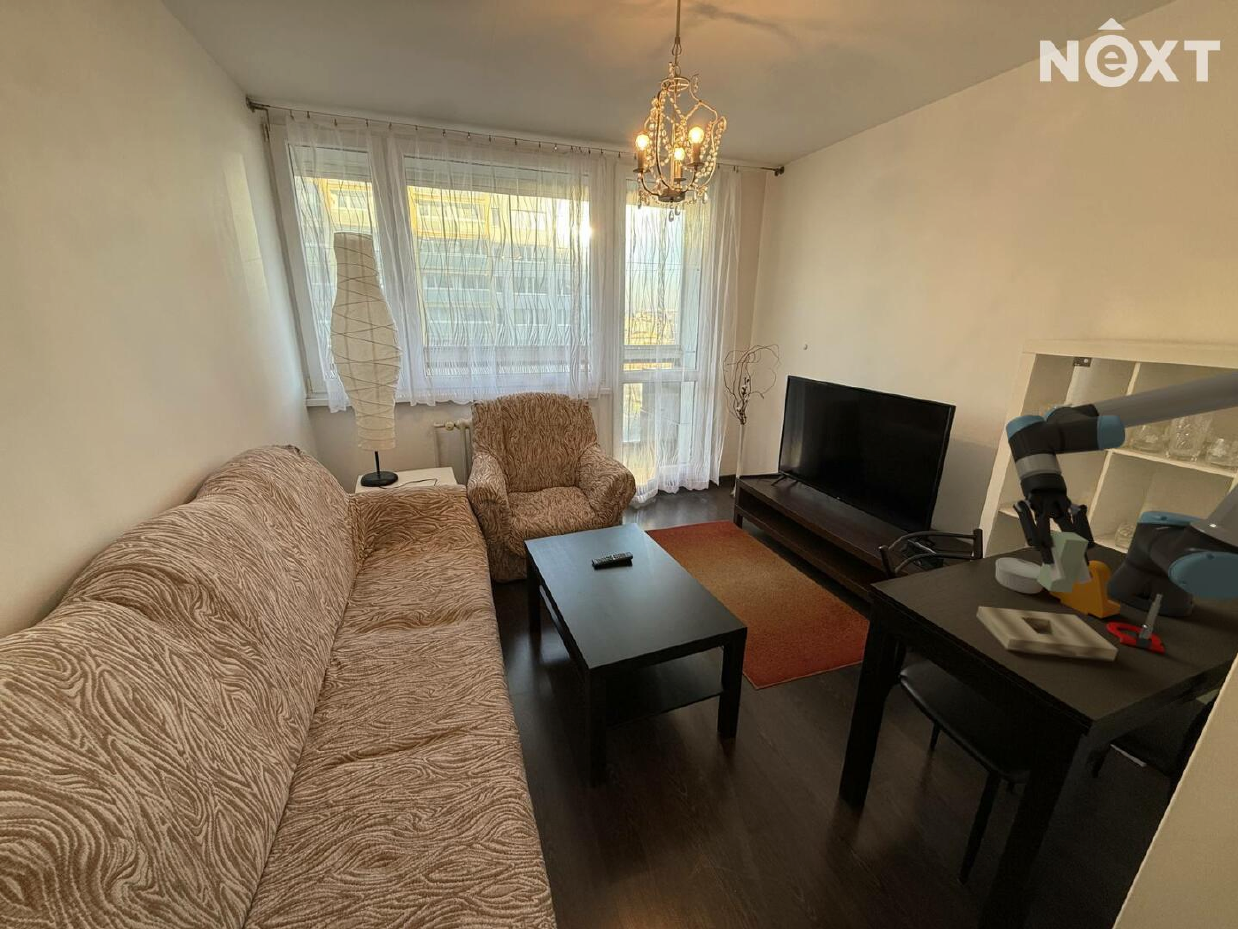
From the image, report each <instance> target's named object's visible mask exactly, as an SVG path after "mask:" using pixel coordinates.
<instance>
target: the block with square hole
mask: <svg viewBox="0 0 1238 929" xmlns="http://www.w3.org/2000/svg"><path fill="white" fill-rule="evenodd" d="M975 618H976V619H977V620H978V622H980V624H981V625H983V627H984V628H985V629H986V630H987V631H988V632H989V634H991V636H993V638H994V639H995V640H996V641H997V642H998V643H999V644H1000V645H1001V647H1002V648H1003V649H1004V650H1005V651H1006V652H1018V653H1025V654H1033V655H1035V654H1036V655H1043V656H1044V655H1045V656H1054V657H1055V656H1056V657H1063V658H1064V657H1065V658H1072V659H1073V658H1075V659H1082V660H1092V661H1103V662H1112V663H1113V662H1114V661H1115V659H1116V656H1117V653H1118V652H1119V649H1118V648H1117V647H1115V646H1114V645H1113V644H1112V643H1111V642H1110V641H1108V640H1107V639H1106V638H1104V637H1103V636H1101V635H1100V634H1099V633H1098V632H1097V631H1095V630H1094V629H1093V628H1092V627H1091V626H1090V625H1088V624H1087V623H1086V622H1084V621H1083V620H1082V619H1081V618H1080V617H1078V616H1077V615H1076V614H1067V613H1056V612H1045V611H1035V610H1034V611H1033V610H1025V609H1024V610H1022V609H1012V608H1003V607H992V606H991V607H990V606H981V605H979V606H978V608H977V612H976V616H975Z"/></svg>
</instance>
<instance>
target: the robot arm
mask: <svg viewBox="0 0 1238 929" xmlns="http://www.w3.org/2000/svg"><path fill="white" fill-rule="evenodd" d="M1237 407H1238V370H1237V371H1236V370H1235V371H1232V372H1227V373H1223V374H1219V375H1214V376H1209V377H1204V378H1200V379H1196V380H1191V381H1185V382H1181V383H1178V384H1173V385H1168V386H1164V387H1160V388H1154V389H1150V390H1147V391H1146V390H1145V391H1141V392H1137V393H1132V394H1127V395H1123V396H1118V397H1114V398H1113V397H1112V398H1110V399H1105V400H1101V401H1095V402H1092V403H1086V404H1082V405H1077V406H1073V407H1072V406H1065V405H1063V406H1062V405H1061V406H1056V407H1053V408H1051V409H1049V410H1048V411H1047V412H1046V413H1045V414H1044V416H1041V415H1039V414H1035V415H1033V414H1024V415H1020V416H1017V417H1015V418H1013V419H1011V420H1010V421H1009V422H1007V424H1006V426H1005V432H1006V436H1007V443H1008V447H1009V449H1010V452H1011V455H1012V458H1013V461H1014V462H1013V463H1014V465H1015V469H1016V473H1017V476H1018V480H1019V481H1020V482H1019V483H1020V488H1021V491H1022V495H1023V497H1024V500H1023V499H1022V500H1019V501H1017V502H1015V503H1014V504H1012V508H1013V510H1014V511H1015V512H1016V514H1017V515H1018V520H1019V522H1020V525H1021V528H1022V532H1023V534H1024V538H1025V542H1026V544H1027V546H1028V547H1034V550H1035V551H1036V552H1040V556H1041V559H1042V563H1043V562H1044V564H1047V565H1048V568H1049V572H1050V575H1051V579H1052V581H1053V582H1057V581H1060V580H1063V579H1065V575H1064V571H1063V568H1062V565H1061V561H1060V558H1059V555H1058V552H1057V548H1055V547H1052V548H1050V547H1051V535H1052V532H1051V520H1052V521H1053V522H1054V523H1055V524H1057V527H1058V528H1059V530H1060V532H1071V533H1076V534H1077V535H1079V536H1081V537H1082V538H1084V539H1086V540H1087V541H1089V542H1088V545H1087V548H1086V550H1085V553H1084V556H1083V559H1082V562H1081V565H1080V567H1079V570H1078V573H1077V576H1076V579H1077V583H1078V584H1083V583H1087V582H1090V581H1092V579H1091V576H1090V574H1091V572H1090V571H1089V570H1088V567H1087V566H1089V565H1090V563H1089V561H1090V559H1089V556H1088V553H1087V551H1088V550H1091V549H1094V548H1095V547H1096V542H1095V540H1094V535H1093V533H1092V529H1091V526H1090V522H1089V519H1088V515H1087V512H1088V505H1086V504H1076V503H1073V502H1072V500H1071V498H1069V496H1068V487H1067V484H1066V482H1065V479H1064V476H1063V471H1062V469H1061V465H1060V463H1059V460H1058V457H1057V455H1065V454H1066V455H1067V454H1078V453H1087V452H1088V453H1089V452H1096V451H1097V452H1098V451H1100V452H1103V451H1105V450H1111V449H1112V450H1113V449H1117V448H1121V447H1122V446H1123V445H1124V443H1125V441H1126V429H1127V428H1133V427H1138V426H1143V425H1147V424H1149V425H1150V424H1154V423H1159V422H1164V421H1170V420H1175V419H1180V418H1181V419H1182V418H1184V417H1189V416H1190V417H1191V416H1195V415H1200V414H1206V413H1211V412H1217V411H1221V410H1226V409H1230V408H1237ZM1032 511H1033V512H1034V514H1033V512H1032ZM1033 515H1034V516H1033ZM1089 572H1090V573H1089ZM1106 589H1107V594H1109V595H1110V596H1112V597H1113V598H1115V599H1117V600H1118V601H1120V602H1123V603H1125V604H1127V605H1130V606H1132V607H1135V608H1137V609H1141V610H1142V611H1146V612H1147V611H1148V612H1149V611H1150V608H1151V605H1152V603H1153V602H1154V601H1155V599H1156V596H1157V594H1162V595H1163V596H1162V598H1161V601H1160V604H1161V605H1160V608H1159V611H1158V613H1157V615H1158V614H1159V615H1162V616H1163V615H1164V616H1169V617H1187V616H1190V615H1191V613H1192V611H1193V608H1194V605H1195V602H1194V600H1193V599H1194V598H1193V597H1194V596H1195V597H1197V598H1200V599H1204V600H1211V601H1224V600H1235V599H1238V482H1237V483H1236V484H1235V485H1234V486H1233V488H1232V489H1230V490H1229V492H1228V494H1226V495H1225V497H1224V498H1223V499H1222V500H1221V502H1219V504H1218V505H1217V506H1215V508H1214V510H1212V512H1211V513H1210V514H1209V515H1208V516H1207V517H1206V518H1204V519H1203V518H1201V517H1197V516H1192V515H1187V514H1182V513H1178V512H1170V511H1161V510H1148V511H1147V510H1146V511H1145V512H1143V513H1142V514H1141V515H1140V517H1139V519H1138V520H1137V522H1136V527H1135V529H1134V532H1133V535H1132V537H1131V541H1130V543H1129V546H1128V549H1127V551H1126V555H1125V558H1124V561H1123V562H1122V564H1121V565H1120V566H1119V567H1118V568H1117V569H1116V571H1115V572H1114V573H1113V574H1111V578H1110V580H1109V581H1108V582H1106Z"/></svg>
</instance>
